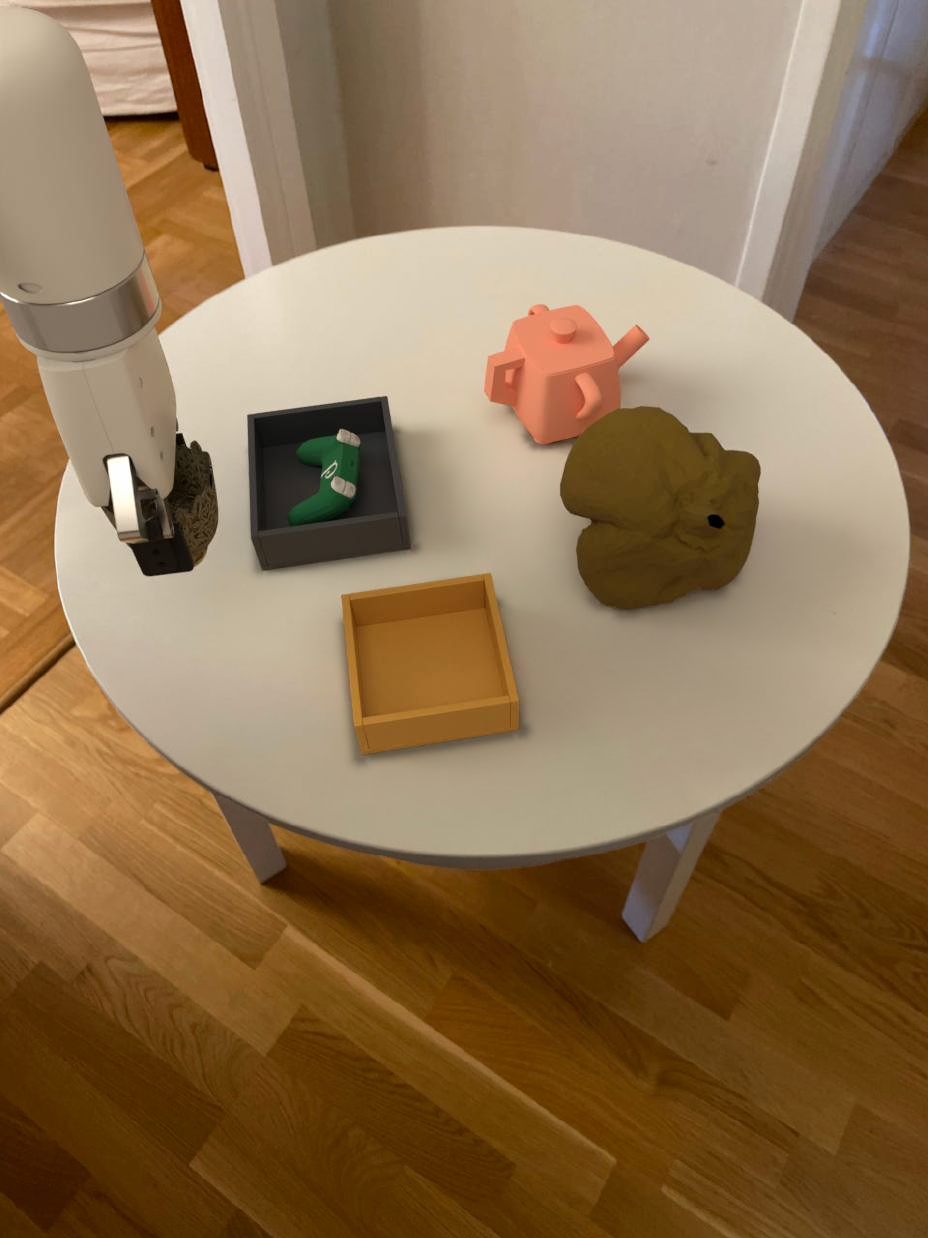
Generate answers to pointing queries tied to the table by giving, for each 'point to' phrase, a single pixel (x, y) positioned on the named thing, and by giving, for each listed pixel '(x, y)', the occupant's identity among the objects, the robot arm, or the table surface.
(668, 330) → the table surface
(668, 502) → the olive-brown lumpy blob
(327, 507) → the gaming controller
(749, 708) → the table surface
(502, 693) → the ochre bin
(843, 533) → the table surface
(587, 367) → the teapot
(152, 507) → the cup
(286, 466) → the charcoal bin
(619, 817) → the table surface
